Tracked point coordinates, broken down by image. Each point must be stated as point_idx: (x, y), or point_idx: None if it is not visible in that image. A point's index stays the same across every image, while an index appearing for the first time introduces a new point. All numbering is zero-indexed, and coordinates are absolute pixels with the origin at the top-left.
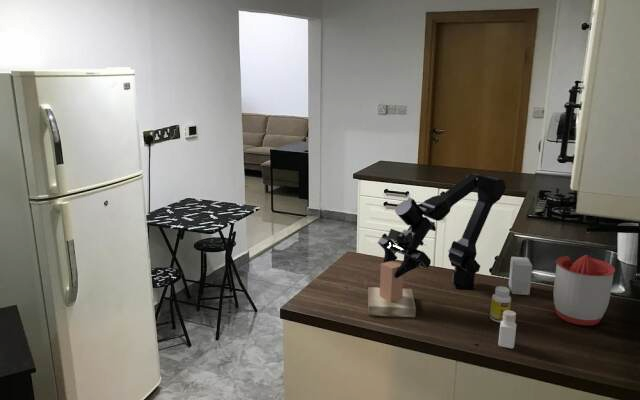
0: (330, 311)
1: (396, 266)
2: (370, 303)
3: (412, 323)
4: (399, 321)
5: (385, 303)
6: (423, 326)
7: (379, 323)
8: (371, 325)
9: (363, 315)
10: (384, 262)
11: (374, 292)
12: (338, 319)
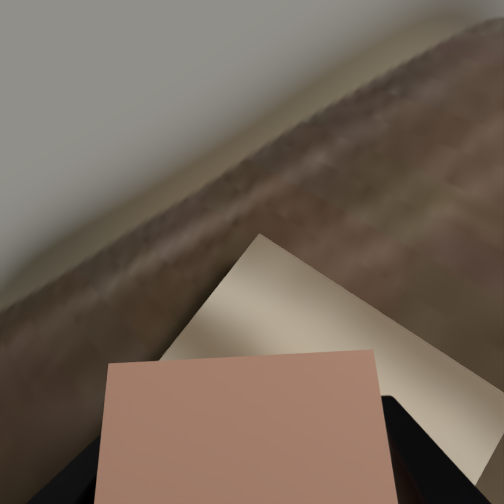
0: (386, 133)
1: (119, 501)
2: (282, 258)
3: (91, 378)
4: (141, 338)
5: (234, 331)
6: (41, 403)
7: (182, 249)
8: (190, 213)
9: (279, 232)
10: (442, 494)
11: (407, 379)
12: (304, 131)
